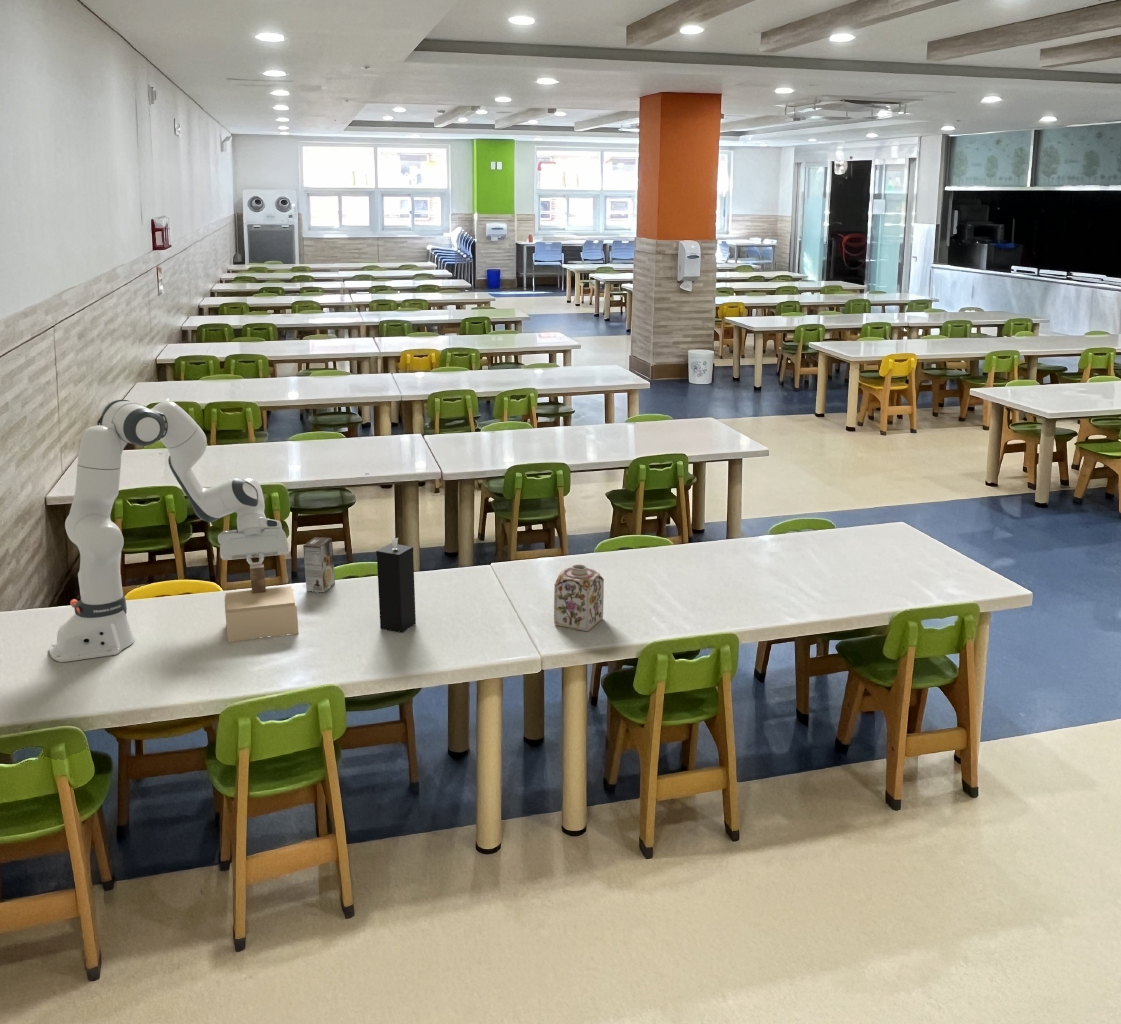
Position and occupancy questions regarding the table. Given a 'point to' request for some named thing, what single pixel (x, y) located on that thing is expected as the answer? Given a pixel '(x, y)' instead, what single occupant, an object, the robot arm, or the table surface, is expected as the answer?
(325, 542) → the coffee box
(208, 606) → the table surface
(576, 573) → the decorative jar
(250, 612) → the carton
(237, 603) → the lid flap
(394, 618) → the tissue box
